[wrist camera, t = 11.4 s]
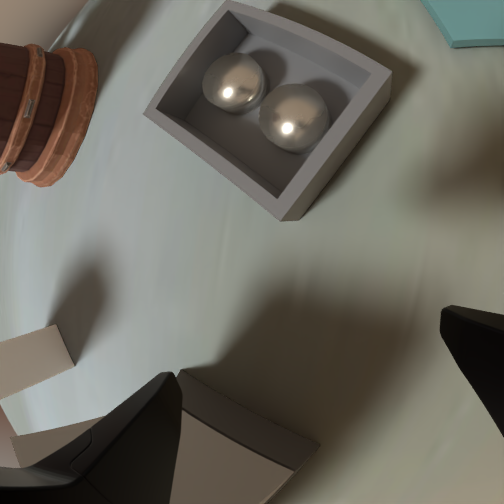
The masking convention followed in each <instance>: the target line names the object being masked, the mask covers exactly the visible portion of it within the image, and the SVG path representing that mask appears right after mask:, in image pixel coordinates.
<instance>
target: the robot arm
mask: <svg viewBox="0 0 504 504" xmlns="http://www.w3.org/2000/svg"><path fill="white" fill-rule="evenodd" d="M440 334H441V337H442V338H443V340H444V342H445V344H446V345H447V347H448V349H449V351H450V353H451V354H452V356H453V358H454V360H455V362H456V363H457V365H458V367H459V368H460V370H461V371H462V373H463V374H464V376H465V377H466V379H467V380H468V382H469V383H470V385H471V386H472V388H473V389H474V391H475V392H476V394H477V395H478V397H479V398H480V400H481V401H482V403H483V404H484V406H485V407H486V409H487V411H488V412H489V414H490V415H491V417H492V419H493V420H494V422H495V424H496V425H497V427H498V429H499V430H500V432H501V434H502V435H503V437H504V315H502V314H497V313H491V312H486V311H481V310H476V309H471V308H465V307H460V306H455V305H450V306H447V307H445V308H443V309H442V311H441V319H440ZM182 403H183V394H182V390H181V388H180V386H179V383H178V381H177V379H176V377H175V375H174V373H173V372H161V373H159V374H158V375H157V376H155V377H154V378H153V379H152V380H150V381H149V382H148V383H147V384H145V385H144V386H143V387H142V388H140V389H139V390H138V391H137V392H135V393H134V394H133V395H132V396H130V397H129V398H128V399H126V400H125V401H124V402H123V403H121V404H120V405H119V406H118V407H116V408H115V409H114V410H112V411H111V412H110V413H108V414H107V415H106V416H105V417H103V418H102V419H101V420H99V421H98V422H97V423H95V424H94V425H93V426H91V428H89V429H87V430H86V431H85V432H83V433H82V434H81V435H79V436H78V437H77V438H75V439H74V440H72V441H71V442H69V443H68V444H66V445H65V446H63V447H61V448H60V449H58V450H57V451H55V452H53V453H52V454H50V455H48V456H47V457H45V458H43V459H42V460H40V461H38V462H36V463H35V464H33V465H31V466H28V467H24V468H6V467H0V504H170V497H171V491H172V484H173V478H174V472H175V466H176V460H177V454H178V448H179V442H180V436H181V422H182Z"/></svg>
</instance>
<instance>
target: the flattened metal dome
mask: <svg viewBox="0 0 504 504" xmlns="http://www.w3.org/2000/svg"><path fill="white" fill-rule="evenodd" d="M259 125H260V128H261V130H262V132H263V134H264V135H265V136H266V137H267V138H268V139H269V140H270V141H271V142H273V143H274V144H276V145H277V146H278V147H280V148H281V149H283V150H284V151H287V152H289V153H292V154H307V153H310V152H313V151H314V149H315V148H316V147H317V145H318V144H319V143H320V141H321V140H322V139H323V137H324V136H325V135H326V133H327V132H328V131H329V129H330V128H331V127H332V120H331V116H330V113H329V111H328V109H327V106H326V104H325V102H324V100H323V99H322V97H321V96H320V94H319V93H318V92H317V91H315V90H314V89H313V88H311V87H309V86H306V85H303V84H296V83H293V84H286V85H282V86H280V87H278V88H276V89H274V90H273V91H271V92H270V93H269V94H268V95H267V96H266V97H265V99H264V100H263V102H262V104H261V107H260V110H259Z"/></svg>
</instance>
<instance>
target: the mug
mask: <svg viewBox="0 0 504 504" xmlns="http://www.w3.org/2000/svg"><path fill="white" fill-rule="evenodd" d="M97 87H98V66H97V63H96V60H95V58H94V55H93V53H91V52H89V51H88V50H86V49H84V48H77V49H70V48H67V47H64V48H60V49H56V50H55V51H54V52H52V53H49V52H45V51H44V49H43V48H42V47H40V46H39V45H35V44H28V45H26V46H24V47H22V46H16V45H11V44H4V43H0V175H1V174H3V173H6V172H7V171H15V172H16V174H17V176H18V177H19V178H20V179H21V180H23V181H24V182H32V183H33V184H34V185H36V186H38V187H47V186H52V185H53V184H54V183H55V182H56V181H58V180H59V179H60V178H61V177H62V176H63V175H64V173H65V172H66V170H67V169H68V168H69V166H70V165H71V163H72V162H73V160H74V159H75V156H76V154H77V152H78V150H79V148H80V145H81V143H82V141H83V139H84V137H85V134H86V131H87V128H88V125H89V121H90V118H91V115H92V112H93V109H94V103H95V98H96V92H97Z"/></svg>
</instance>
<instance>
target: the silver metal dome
mask: <svg viewBox="0 0 504 504" xmlns="http://www.w3.org/2000/svg"><path fill="white" fill-rule="evenodd" d="M202 89H203V93H204V95H205V97H206V98H207V100H208V101H210V102H211V103H213V104H214V105H216V106H217V107H219V108H221V109H222V110H224V111H226V112H227V113H230V114H233V115H243V114H247V113H250V112H252V111H254V110H256V109H257V108H258V107H259V106H260V105H261V104H262V102H263V100H264V99H265V97H266V96H267V95H268V93H269V89H270V82H269V78H268V76H267V74H266V73H265V71H264V70H263V69H262V68H261V67H260V66H259V65H258V63H257V62H256V61H255V60H254V59H253V58H252V57H251V56H249V55H247V54H244V53H230V54H226V55H224V56H222V57H220V58H218V59H217V60H216V61H214V62H213V63H212V64H211V65H210V67H209V68H208V69H207V71H206V73H205V75H204V78H203V82H202Z"/></svg>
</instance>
